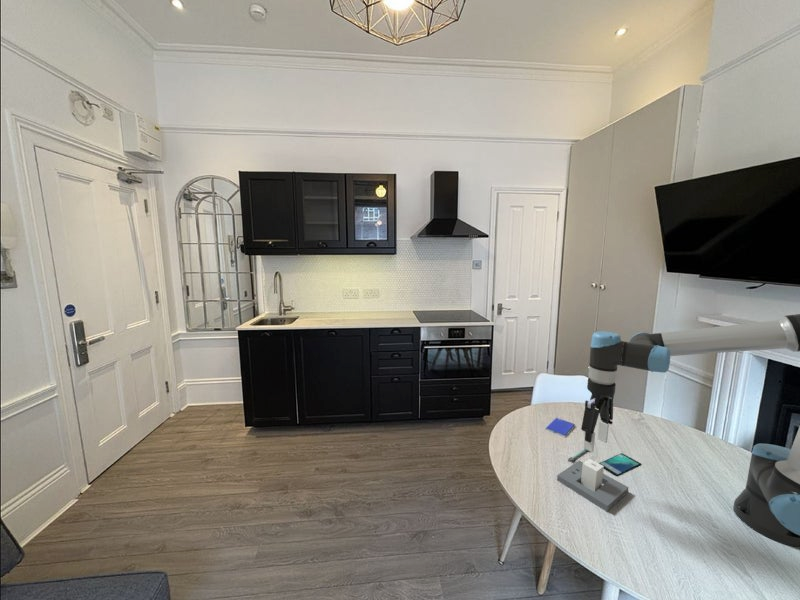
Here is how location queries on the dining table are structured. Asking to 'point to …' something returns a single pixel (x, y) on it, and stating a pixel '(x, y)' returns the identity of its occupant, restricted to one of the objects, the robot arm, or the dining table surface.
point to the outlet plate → (601, 497)
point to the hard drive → (560, 427)
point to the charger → (592, 475)
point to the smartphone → (619, 464)
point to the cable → (577, 455)
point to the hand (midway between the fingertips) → (595, 445)
